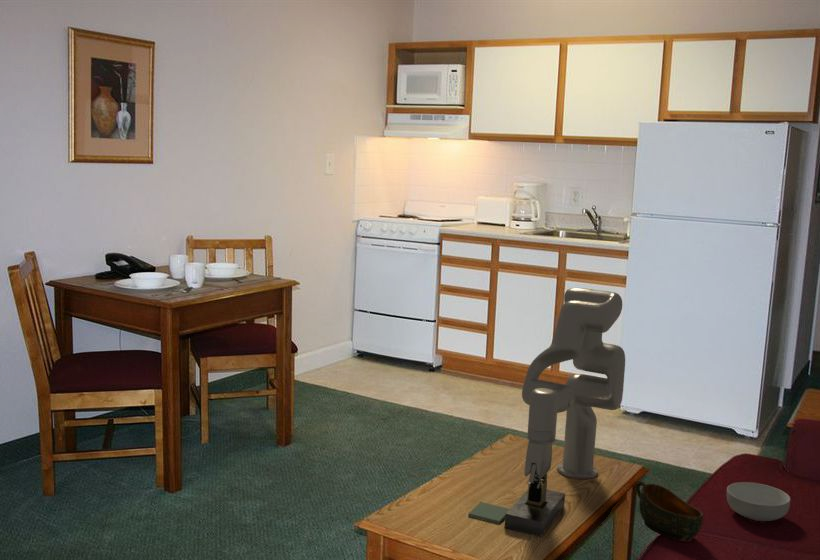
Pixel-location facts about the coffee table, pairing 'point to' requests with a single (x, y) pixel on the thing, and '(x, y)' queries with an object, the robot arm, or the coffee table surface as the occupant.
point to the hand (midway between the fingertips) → (536, 497)
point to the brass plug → (543, 495)
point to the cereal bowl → (758, 501)
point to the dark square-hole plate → (534, 514)
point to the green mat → (488, 512)
